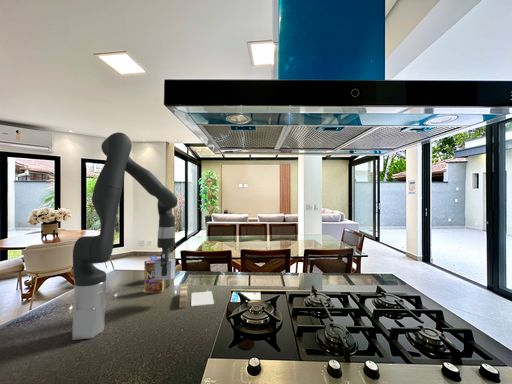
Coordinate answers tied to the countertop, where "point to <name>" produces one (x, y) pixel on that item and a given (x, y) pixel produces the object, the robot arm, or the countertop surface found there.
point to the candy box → (152, 279)
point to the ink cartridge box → (150, 260)
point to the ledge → (183, 296)
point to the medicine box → (170, 269)
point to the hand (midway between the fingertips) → (165, 273)
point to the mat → (202, 299)
